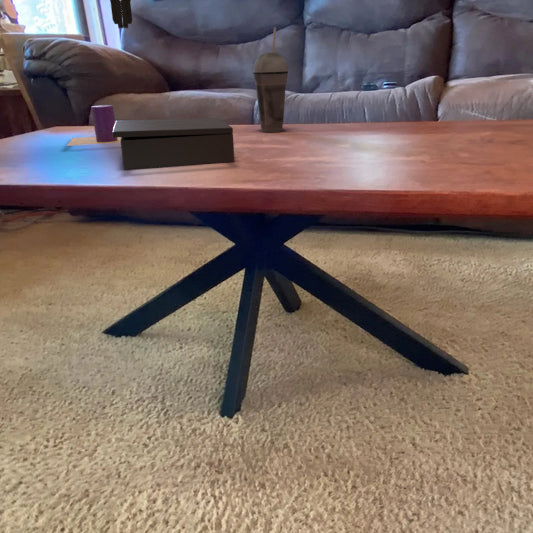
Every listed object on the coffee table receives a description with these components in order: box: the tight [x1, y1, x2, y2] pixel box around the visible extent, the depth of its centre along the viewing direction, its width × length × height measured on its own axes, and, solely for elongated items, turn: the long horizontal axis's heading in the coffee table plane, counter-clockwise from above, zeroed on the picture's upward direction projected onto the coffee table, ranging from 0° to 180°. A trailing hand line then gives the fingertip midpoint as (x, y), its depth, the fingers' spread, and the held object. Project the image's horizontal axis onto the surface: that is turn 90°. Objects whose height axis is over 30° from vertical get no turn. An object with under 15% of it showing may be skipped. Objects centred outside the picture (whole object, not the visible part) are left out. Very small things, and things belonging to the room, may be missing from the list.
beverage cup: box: [252, 26, 289, 133], centre depth 105 cm, size 7×7×20 cm
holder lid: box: [113, 117, 234, 138], centre depth 77 cm, size 16×14×1 cm
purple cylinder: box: [90, 104, 118, 142], centre depth 99 cm, size 4×4×6 cm
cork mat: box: [66, 136, 121, 147], centre depth 100 cm, size 14×14×1 cm
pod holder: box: [120, 133, 235, 171], centre depth 78 cm, size 16×14×5 cm
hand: (123, 28), depth 77 cm, fingers closed
